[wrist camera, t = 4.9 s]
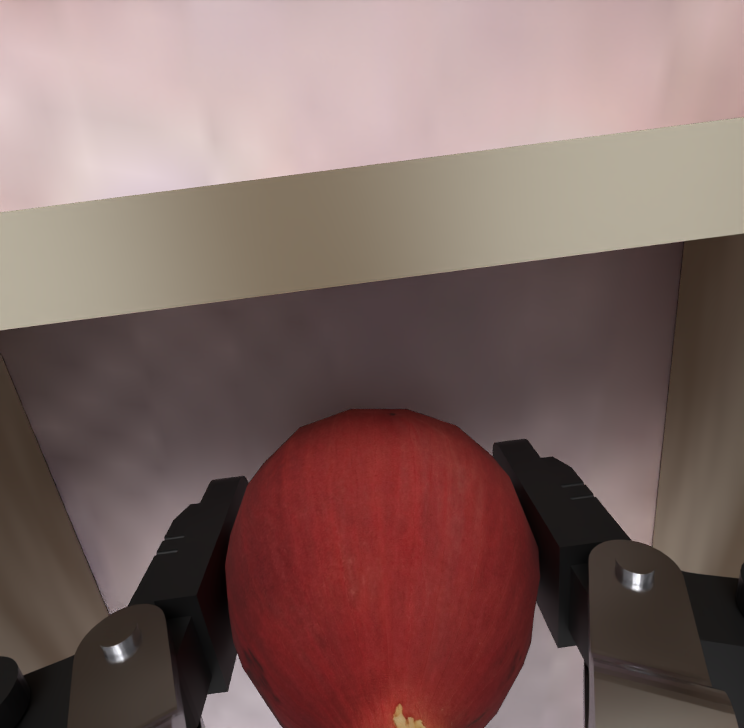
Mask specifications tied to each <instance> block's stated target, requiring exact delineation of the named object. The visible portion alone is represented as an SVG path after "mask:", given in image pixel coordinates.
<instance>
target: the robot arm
mask: <svg viewBox="0 0 744 728" xmlns="http://www.w3.org/2000/svg"><path fill="white" fill-rule="evenodd" d="M493 458H494V459H495V460H496V461H497V463H498V464H499V465H500V466H501V467H502V469H503V470H504V471H505V472H506V473H507V475H508V476H509V477H510V479H511V482H512V484H513V487H514V489H515V491H516V494H517V496H518V499H519V501H520V504H521V506H522V508H523V511H524V513H525V516H526V518H527V521H528V523H529V526H530V528H531V531H532V533H533V536H534V538H535V541H536V543H537V545H538V550H539V568H540V581H539V587H538V593H537V599H536V602H537V604H538V606H539V608H540V611H541V613H542V615H543V617H544V619H545V621H546V623H547V626H548V628H549V630H550V632H551V634H552V636H553V638H554V641H555V643H556V645H557V647H558V648H561V647H568V646H576V645H577V647H578V649H579V651H580V653H581V655H582V657H583V659H584V669H583V708H584V728H744V563H743V564H742V566H741V570H740V575H739V578H731V577H722V576H714V575H705V574H696V573H690V572H685V571H681V570H680V568H679V567H678V566H677V564H676V563H675V562H674V561H673V560H672V559H671V558H669V557H668V556H667V555H665V554H664V553H663V552H661V551H659V550H657V549H655V548H654V547H651V546H649V545H646V544H643V543H640V542H636V541H632V540H631V539H630V538H629V537H628V536H627V534H626V533H625V532H624V531H623V530H622V528H621V527H620V526H619V525H618V523H617V522H616V521H615V520H614V519H613V517H612V516H611V515H610V514H609V513H608V511H607V510H606V509H605V508H604V506H603V505H602V504H601V503H600V502H599V500H598V499H597V498H596V497H594V496H593V493H592V492H591V491H590V489H589V488H588V487H587V486H586V485H584V483H583V481H582V480H581V479H580V477H579V476H578V475H577V474H576V472H575V471H574V470H573V469H572V468H571V467H570V466H568V465H566V464H564V463H563V462H561V461H559V460H558V459H556V458H554V457H546V458H540V456H539V455H538V454H537V452H536V451H535V450H534V448H533V447H532V445H531V444H530V443H529V441H528V440H527V439H520V440H512V441H505V442H497V443H494V445H493ZM247 485H248V481H247V479H246V477H245V476H239V477H231V478H224V479H216V480H212V481H211V482H210V484H209V486H208V488H207V490H206V492H205V494H204V496H203V498H202V500H201V502H200V503H198V504H190V505H189V506H188V507H187V508H186V509H185V510H184V511H183V512H182V513H181V514H180V515H179V516H178V517H176V518H175V519H174V520H173V522H172V524H171V526H170V528H169V530H168V532H167V533H166V535H165V537H164V538H165V540H164V541H162V543H161V545H160V547H159V548H158V550H157V555H155V556H154V558H153V560H152V562H151V563H150V565H149V567H148V569H147V571H146V573H145V575H144V577H143V578H142V580H141V582H140V584H139V586H138V588H137V590H136V592H135V593H134V595H133V597H132V599H131V601H130V603H129V605H128V607H126V608H123V609H120V610H118V611H116V612H114V613H112V614H111V615H109V616H108V617H106V618H104V619H103V620H102V621H100V622H99V623H98V624H97V625H96V626H94V627H93V628H92V629H91V630H90V631H89V632H88V633H87V634H86V636H85V637H84V638H83V640H82V641H81V642H80V644H79V646H78V648H77V650H76V652H75V655H73V656H70V657H68V658H66V659H63V660H61V661H58V662H56V663H53V664H51V665H48V666H45V667H43V668H40V669H38V670H35V671H33V672H30V673H28V674H25V675H23V674H22V672H21V670H20V668H19V667H18V665H17V663H16V661H15V660H13V659H12V658H9V657H4V656H0V728H205V725H204V721H203V719H202V716H201V715H202V711H203V708H204V704H205V701H206V697H207V694H214V693H221V692H228V689H229V685H230V681H231V676H232V672H233V668H234V664H235V660H236V655H237V651H236V648H235V646H234V643H233V638H232V631H231V625H230V618H229V611H228V597H227V584H226V571H225V562H226V557H227V551H228V546H229V540H230V534H231V531H232V528H233V525H234V522H235V519H236V517H237V514H238V511H239V508H240V505H241V502H242V499H243V496H244V494H245V491H246V488H247Z"/></svg>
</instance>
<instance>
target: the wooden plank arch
mask: <svg viewBox="0 0 744 728" xmlns="http://www.w3.org/2000/svg"><path fill="white" fill-rule="evenodd" d="M681 241H684V249H683V259H682V269H681V278H680V288H679V297H678V307H677V316H676V326H675V335H674V345H673V354H672V364H671V373H670V383H669V392H668V402H667V411H666V421H665V431H664V440H663V450H662V459H661V469H660V478H659V488H658V497H657V507H656V516H655V526H654V535H653V545H652V547H654V548H655V549H657V550H659V551H661V552H663V553H664V554H665V555H667V556H668V557H669V558H671V559H672V560H673V561H674V562H675V563H676V564H677V566H678V567H679V568H680V570H681V571H685V572H690V573H696V574H705V575H714V576H722V577H731V578H739V575H740V570H741V566H742V564H743V563H744V117H741V118H734V119H726V120H718V121H710V122H702V123H695V124H687V125H679V126H671V127H663V128H656V129H648V130H640V131H632V132H624V133H617V134H609V135H601V136H593V137H585V138H578V139H570V140H562V141H554V142H546V143H539V144H531V145H523V146H515V147H507V148H500V149H492V150H484V151H476V152H468V153H461V154H453V155H445V156H437V157H429V158H422V159H414V160H406V161H398V162H390V163H383V164H375V165H367V166H359V167H351V168H344V169H336V170H328V171H320V172H312V173H305V174H297V175H289V176H281V177H273V178H266V179H258V180H250V181H242V182H234V183H227V184H219V185H211V186H203V187H195V188H188V189H180V190H172V191H164V192H156V193H149V194H141V195H133V196H125V197H117V198H110V199H102V200H94V201H86V202H78V203H71V204H63V205H55V206H47V207H39V208H32V209H24V210H16V211H8V212H0V330H7V329H14V328H22V327H30V326H37V325H45V324H53V323H60V322H68V321H76V320H83V319H91V318H99V317H106V316H114V315H122V314H129V313H137V312H145V311H152V310H160V309H168V308H175V307H183V306H191V305H198V304H206V303H214V302H221V301H229V300H237V299H244V298H252V297H260V296H267V295H275V294H283V293H290V292H298V291H306V290H313V289H321V288H329V287H336V286H344V285H352V284H359V283H367V282H375V281H382V280H390V279H398V278H405V277H413V276H421V275H428V274H436V273H444V272H451V271H459V270H467V269H474V268H482V267H490V266H497V265H505V264H513V263H520V262H528V261H535V260H543V259H551V258H558V257H566V256H574V255H581V254H589V253H597V252H604V251H612V250H620V249H627V248H635V247H643V246H650V245H658V244H666V243H673V242H681ZM108 616H109V614H108V611H107V609H106V607H105V604H104V602H103V599H102V597H101V595H100V592H99V590H98V587H97V585H96V582H95V580H94V578H93V575H92V573H91V570H90V568H89V566H88V563H87V561H86V558H85V556H84V554H83V551H82V549H81V546H80V544H79V542H78V539H77V537H76V534H75V532H74V530H73V527H72V525H71V522H70V520H69V517H68V515H67V513H66V510H65V508H64V505H63V503H62V501H61V498H60V496H59V493H58V491H57V489H56V486H55V484H54V481H53V479H52V477H51V474H50V472H49V469H48V467H47V465H46V462H45V460H44V457H43V455H42V452H41V450H40V448H39V445H38V443H37V440H36V438H35V436H34V433H33V431H32V428H31V426H30V424H29V421H28V419H27V416H26V414H25V412H24V409H23V407H22V404H21V402H20V400H19V397H18V395H17V392H16V390H15V387H14V385H13V383H12V380H11V378H10V375H9V373H8V371H7V368H6V366H5V363H4V361H3V359H2V356H1V354H0V656H4V657H9V658H12V659H13V660H15V661H16V663H17V665H18V667H19V668H20V670H21V672H22V674H23V675H25V674H28V673H30V672H33V671H35V670H38V669H40V668H43V667H45V666H48V665H51V664H53V663H56V662H58V661H61V660H63V659H66V658H68V657H70V656H73V655H75V652H76V650H77V648H78V646H79V644H80V642H81V641H82V640H83V638H84V637H85V636H86V634H87V633H88V632H89V631H90V630H91V629H92V628H93V627H94V626H96V625H97V624H98V623H99V622H100V621H102V620H103V619H104V618H106V617H108Z"/></svg>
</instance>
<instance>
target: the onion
mask: <svg viewBox="0 0 744 728" xmlns="http://www.w3.org/2000/svg"><path fill="white" fill-rule="evenodd" d="M225 571H226V584H227V597H228V611H229V618H230V625H231V631H232V638H233V643H234V646H235V648H236V651H237V654H238V656H239V659H240V662H241V664H242V667H243V669H244V670H245V672H246V673H247V675H248V677H249V678H250V680H251V681H252V683H253V684H254V686H255V687H256V689H257V690H258V692H259V693H260V695H261V696H262V698H263V699H264V701H265V703H266V704H267V706H268V707H269V709H270V710H271V712H272V713H273V715H274V716H275V718H276V719H277V721H278V722H279V724H280V725H281V726H282V727H283V728H484V727H485V726H486V725H487V724H488V723H489V722H490V720H491V719H492V718H493V717H494V716H495V715H496V714H497V712H498V710H499V708H500V707H501V705H502V703H503V701H504V699H505V697H506V696H507V694H508V692H509V690H510V688H511V687H512V685H513V683H514V681H515V679H516V677H517V676H518V674H519V672H520V670H521V668H522V666H523V664H524V661H525V658H526V655H527V653H528V650H529V647H530V644H531V637H532V628H533V618H534V611H535V605H536V599H537V593H538V587H539V581H540V568H539V550H538V545H537V543H536V541H535V538H534V536H533V533H532V531H531V528H530V526H529V523H528V521H527V518H526V516H525V513H524V511H523V508H522V506H521V504H520V501H519V499H518V496H517V494H516V491H515V489H514V487H513V484H512V482H511V479H510V477H509V476H508V475H507V473H506V472H505V471H504V470H503V469H502V467H501V466H500V465H499V464H498V463H497V461H496V460H495V459H494V458H493V456H492V455H490V454H489V453H488V452H487V451H486V450H484V449H483V448H482V447H481V446H480V445H479V444H477V443H476V442H475V441H474V440H473V439H472V438H470V437H469V436H468V435H467V434H466V433H465V432H463V431H462V430H461V429H460V428H459V427H457V426H456V425H453V424H450V423H447V422H444V421H441V420H438V419H435V418H432V417H429V416H426V415H423V414H420V413H417V412H414V411H411V410H408V409H349V410H346V411H344V412H341V413H338V414H335V415H333V416H330V417H327V418H324V419H322V420H319V421H316V422H313V423H311V424H308V425H305V426H303V427H300V428H299V429H298V430H297V431H296V432H295V433H294V434H293V435H292V436H291V437H290V438H289V439H288V440H287V441H286V442H285V443H284V444H283V445H282V446H281V447H280V448H279V449H278V450H277V451H276V452H275V453H274V454H273V455H271V456H270V457H269V458H268V459H267V460H266V461H265V462H264V463H263V465H262V466H261V468H260V469H259V470H258V472H257V473H256V474H255V476H254V477H253V478H252V480H251V481H250V482H249V484H248V485H247V488H246V491H245V494H244V496H243V499H242V502H241V505H240V508H239V511H238V514H237V517H236V519H235V522H234V525H233V528H232V531H231V534H230V540H229V546H228V551H227V557H226V562H225Z"/></svg>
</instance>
